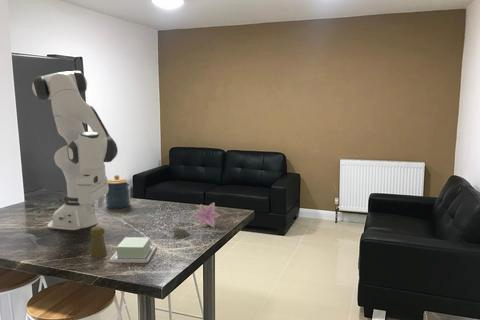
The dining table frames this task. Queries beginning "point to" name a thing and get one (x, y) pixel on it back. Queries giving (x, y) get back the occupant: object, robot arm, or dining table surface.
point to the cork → (98, 242)
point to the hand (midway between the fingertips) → (95, 210)
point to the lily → (206, 214)
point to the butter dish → (134, 250)
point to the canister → (118, 193)
